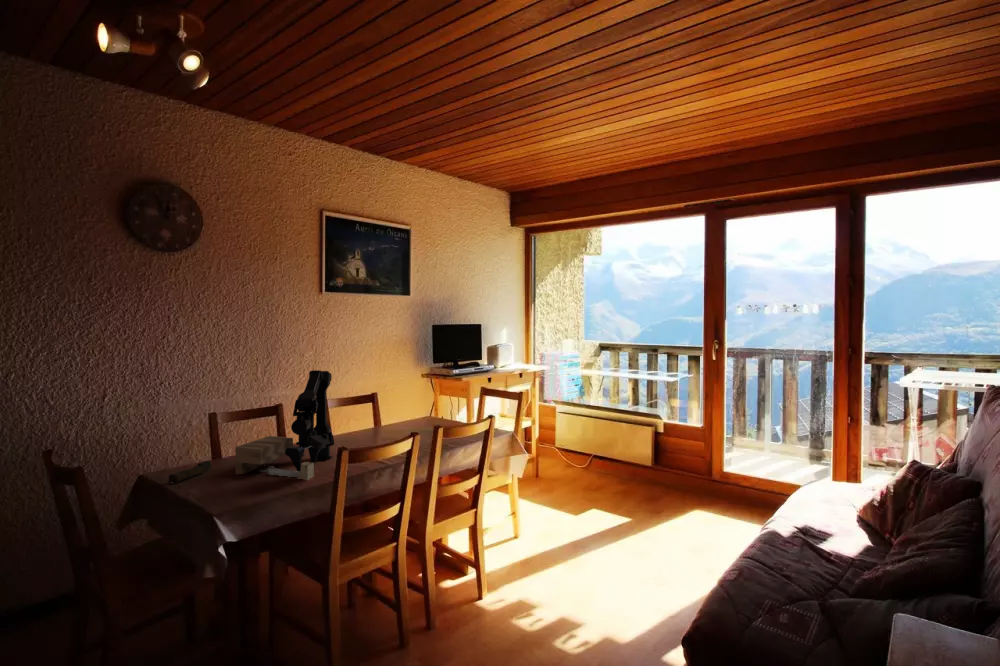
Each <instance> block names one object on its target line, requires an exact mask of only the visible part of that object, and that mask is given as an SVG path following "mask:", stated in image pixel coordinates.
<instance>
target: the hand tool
mask: <svg viewBox="0 0 1000 666" xmlns="http://www.w3.org/2000/svg"><path fill="white" fill-rule="evenodd" d="M212 466H213V465H212V462H211V461H210V460H205V461H202V462H201V461H200V462H199V463H197V465H195V466H194V467H190V468H188V469H185V470H181V471H179V472H176V473H173V474H169V475H168V482H169V483H170V482H173V483H176V484H177V483H178V482H179V483H180V482H182V481H185V480H187V479H190V478H193V477H195V476H197V475H205V474H207V473H208V471H209V472H210V471H212V470H213V469H212V468H213V467H212ZM206 472H207V473H206ZM204 473H205V474H204Z"/></svg>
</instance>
